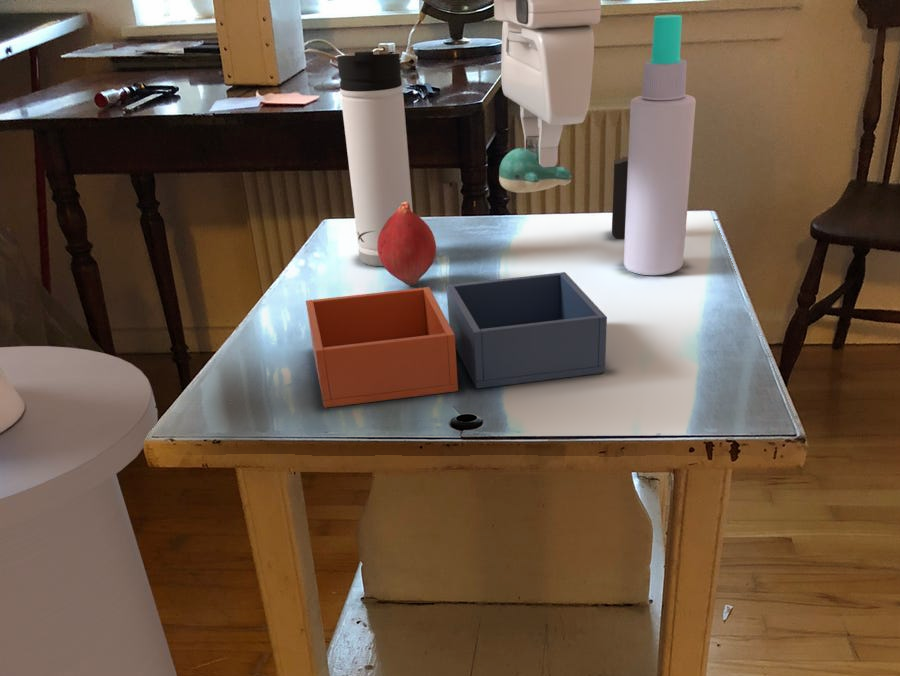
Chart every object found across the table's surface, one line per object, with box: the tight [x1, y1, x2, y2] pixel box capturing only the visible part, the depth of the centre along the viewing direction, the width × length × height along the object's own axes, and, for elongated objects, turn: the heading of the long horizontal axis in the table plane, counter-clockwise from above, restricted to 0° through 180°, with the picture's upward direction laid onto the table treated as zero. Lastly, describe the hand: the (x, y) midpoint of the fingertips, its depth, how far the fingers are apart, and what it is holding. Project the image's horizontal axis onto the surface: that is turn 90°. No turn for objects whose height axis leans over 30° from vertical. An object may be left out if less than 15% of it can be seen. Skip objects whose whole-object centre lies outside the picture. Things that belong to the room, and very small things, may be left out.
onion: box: [377, 202, 437, 286], centre depth 97 cm, size 6×6×8 cm
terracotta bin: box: [305, 286, 459, 409], centre depth 80 cm, size 11×12×5 cm
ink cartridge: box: [611, 156, 628, 240], centre depth 108 cm, size 5×2×8 cm, turn 84°
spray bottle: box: [623, 14, 697, 276], centre depth 94 cm, size 6×6×22 cm
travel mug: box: [336, 50, 414, 267], centre depth 101 cm, size 6×7×20 cm
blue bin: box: [446, 271, 608, 389], centre depth 82 cm, size 11×12×5 cm
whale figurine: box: [498, 147, 573, 194], centre depth 98 cm, size 6×7×4 cm
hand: (540, 160), depth 98 cm, fingers closed on whale figurine, 3 cm apart
